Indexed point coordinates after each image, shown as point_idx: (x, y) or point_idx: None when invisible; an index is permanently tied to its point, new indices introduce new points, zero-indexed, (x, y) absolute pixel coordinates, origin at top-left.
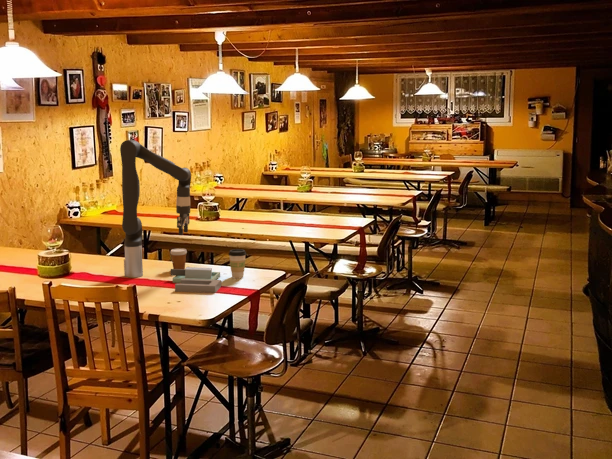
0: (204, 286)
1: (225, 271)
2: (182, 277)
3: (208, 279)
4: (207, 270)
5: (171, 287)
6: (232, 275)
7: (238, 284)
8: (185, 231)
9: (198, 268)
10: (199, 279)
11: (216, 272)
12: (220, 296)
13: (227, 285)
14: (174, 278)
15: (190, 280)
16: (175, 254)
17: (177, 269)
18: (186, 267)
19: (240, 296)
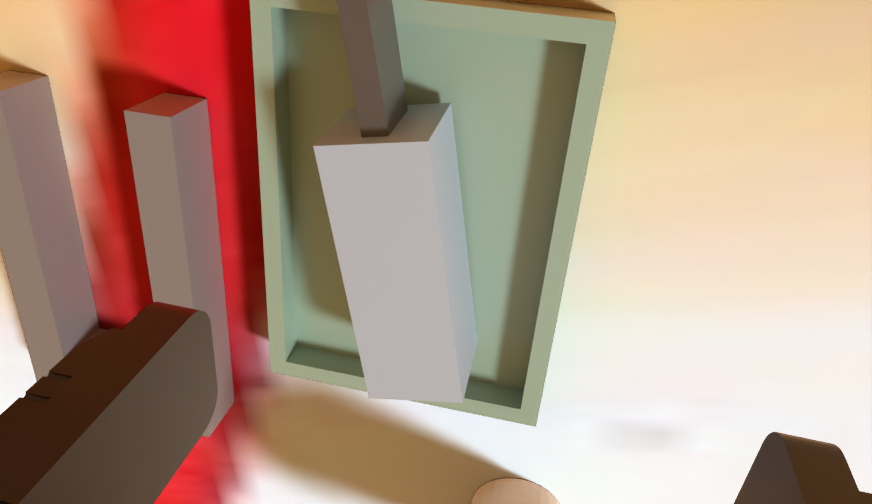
0: (27, 327)
1: (742, 441)
2: (436, 59)
3: (269, 340)
4: (362, 364)
5: (110, 3)
6: (488, 495)
7: (308, 500)
8: (752, 500)
9: (400, 284)
10: (185, 283)
11: (524, 398)
12: (18, 395)
13: (271, 439)
14: (251, 4)
15: (139, 207)
16: None
17: (347, 31)
18: (407, 148)
19: None
